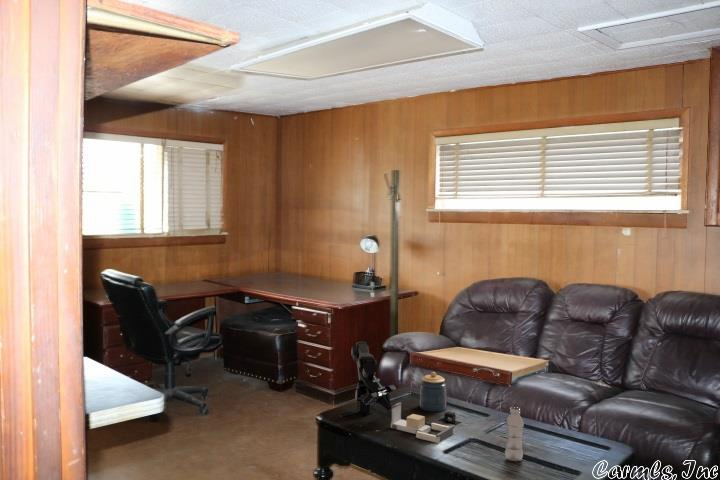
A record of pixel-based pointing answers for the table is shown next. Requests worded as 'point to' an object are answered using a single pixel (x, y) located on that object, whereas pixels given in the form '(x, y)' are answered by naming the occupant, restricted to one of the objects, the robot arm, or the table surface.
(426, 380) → the canister
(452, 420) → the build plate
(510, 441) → the plastic bottle
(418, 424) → the trolley
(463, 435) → the table surface
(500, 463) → the table surface
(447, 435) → the bay
